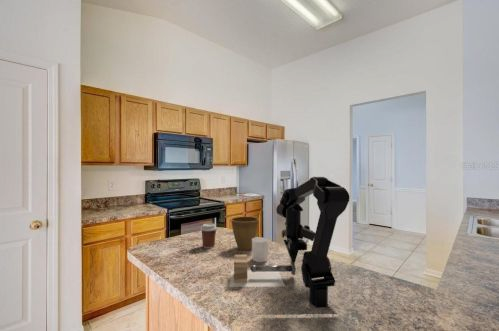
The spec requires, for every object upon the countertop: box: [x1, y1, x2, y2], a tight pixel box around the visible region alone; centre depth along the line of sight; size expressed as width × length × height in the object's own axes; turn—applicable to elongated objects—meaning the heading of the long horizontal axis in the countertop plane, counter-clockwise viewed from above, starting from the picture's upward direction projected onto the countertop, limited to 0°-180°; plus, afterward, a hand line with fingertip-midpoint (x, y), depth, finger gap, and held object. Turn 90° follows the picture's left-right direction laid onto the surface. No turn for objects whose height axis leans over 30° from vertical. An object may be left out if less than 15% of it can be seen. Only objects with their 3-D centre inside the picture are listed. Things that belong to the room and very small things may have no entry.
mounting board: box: [228, 269, 286, 288], centre depth 92 cm, size 14×20×1 cm
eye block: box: [233, 254, 248, 283], centre depth 92 cm, size 8×5×8 cm, turn 2°
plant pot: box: [230, 216, 259, 251], centre depth 129 cm, size 15×15×16 cm
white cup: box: [251, 236, 269, 263], centre depth 111 cm, size 8×8×10 cm
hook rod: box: [250, 259, 296, 276], centre depth 92 cm, size 5×18×9 cm, turn 92°
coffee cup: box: [200, 223, 218, 249], centre depth 131 cm, size 9×9×12 cm
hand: (292, 261), depth 92 cm, fingers closed on hook rod, 2 cm apart
